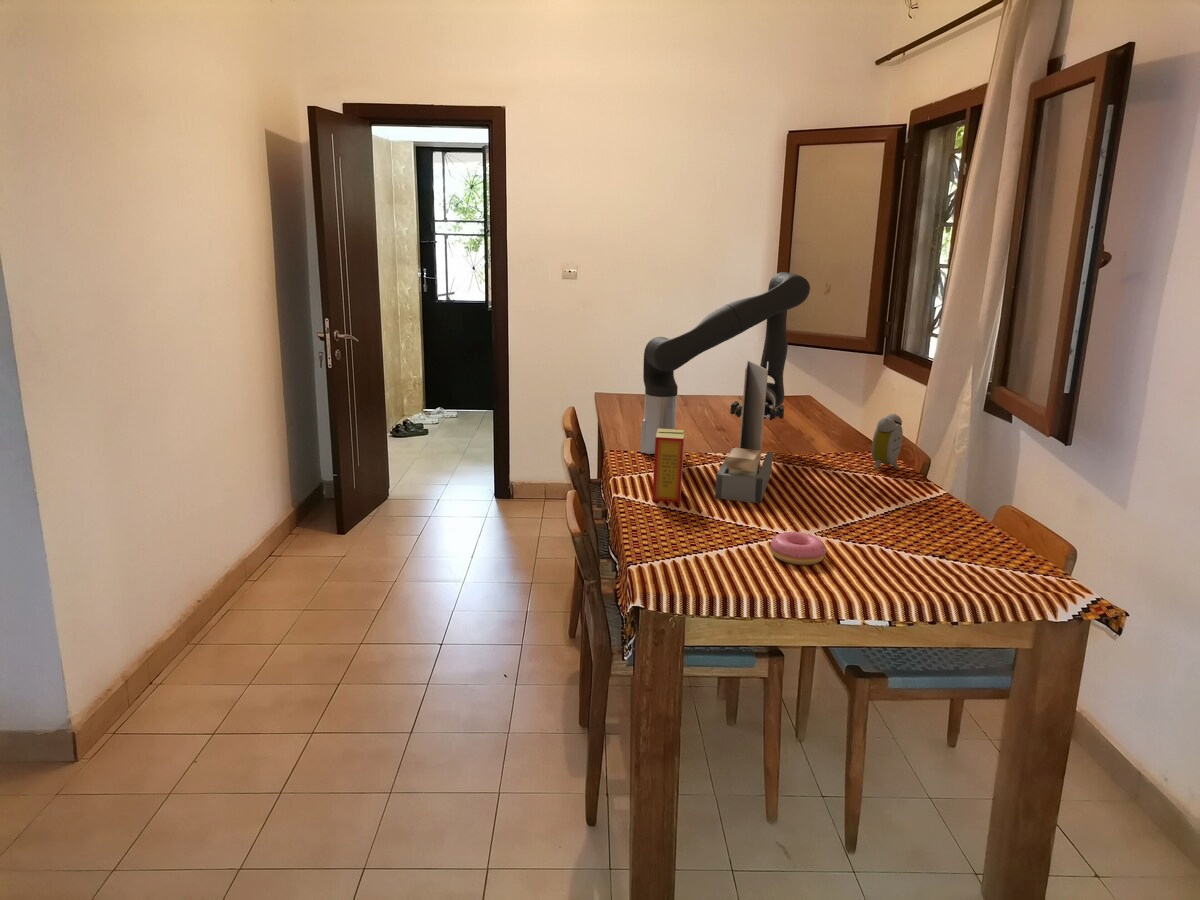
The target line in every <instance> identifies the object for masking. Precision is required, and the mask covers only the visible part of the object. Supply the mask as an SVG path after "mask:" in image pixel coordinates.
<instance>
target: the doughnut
mask: <svg viewBox="0 0 1200 900" xmlns="http://www.w3.org/2000/svg"><path fill="white" fill-rule="evenodd" d="M769 545H770V551H771V553H772V555H773V556H774V557H775V558H777V559H778V560H780V561H782V562H784V563H787V564H791V565H796V566H797V565H798V566H810V565H816V564H818V563H820V562H821V561H823V559H824V558H825V556H826V553H827V546H826V544H825V543H824V542H823V540H821V538H818V536H816V535H812V534H810V533H806V532H805V533H804V532H801V531H800V532H799V531H788V532H787V531H784V532H782V533H777V535H774V537H772V538H771V541H770V544H769Z"/></svg>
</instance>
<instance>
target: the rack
mask: <svg viewBox="0 0 1200 900" xmlns="http://www.w3.org/2000/svg"><path fill="white" fill-rule="evenodd" d="M734 448H735V447H734ZM734 448H733V447H732V448H731V449H730V451H729V452H728V454H727V456H728V455H729V454H730V453H731V452H732V450H733V449H734ZM727 456H726V458H725V459H724V461H723V463H722V464H721V465H720V468H719V469H718V471H717V473H716V474H715V476H716V478H715V488H714V491H715V493H714V499H719V500H728V501H729V500H730V501H735V500H736V502H746V503H752V502H753V504H760V503H762V502H763V501H762V500H763V498H764V495H765V493H766V489H767V487H768V484H769V482H768V481H770V479H771V476H772V472H773V471H772V470H773V458H774V452H773V451H772V452H771V451H766V454H765V457H764V460H763V462H762V463H761V465H760V470H759V473H758V476H757V477H751V476H743V475H734V474H729V469H727V468H726V467H727ZM770 475H771V476H770ZM769 478H770V479H769ZM764 492H765V493H764Z"/></svg>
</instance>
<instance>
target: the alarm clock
mask: <svg viewBox="0 0 1200 900" xmlns="http://www.w3.org/2000/svg"><path fill="white" fill-rule="evenodd" d="M902 425H903V421H902V418H901V416H900V415H898V414H896V413H891V414H888V415H887V416H885V417H883V418H880V419H879V420H878V422H877V426H876V428H875V430H874V434H873V437H872V441H871V442H872V443H871V449H870V450H871V458H872V460H873V462H874V467H873V470H874V471H875V470H876V471H877V470H878V468H879V467H880V466H881V464H884V465H889V466H891V465H892V467H894V469H895V470H896V471H899V470H900V468H899V465H898V462H897V460H898V459H899V456H900V453H901V449H902V444H903V438H904V437H903V427H902Z"/></svg>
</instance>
